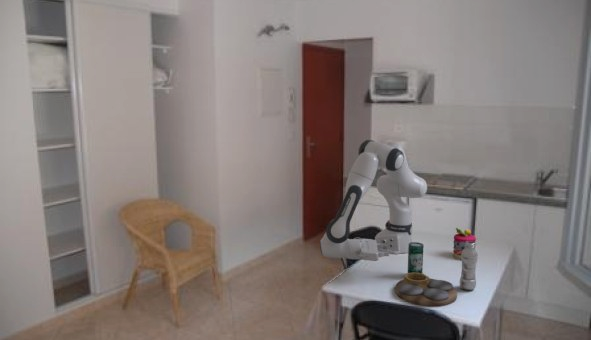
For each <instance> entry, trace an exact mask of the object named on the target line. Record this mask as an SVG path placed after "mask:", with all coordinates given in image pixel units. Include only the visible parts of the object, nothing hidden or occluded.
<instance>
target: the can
mask: <svg viewBox="0 0 591 340" xmlns="http://www.w3.org/2000/svg"><path fill="white" fill-rule="evenodd" d="M423 268H424V244H423V243H421V242H417V241H414V242H413V241H412V242H411V243H409V247H408V253H407V273H413V272H416V273H422V274H423V270H424V269H423Z"/></svg>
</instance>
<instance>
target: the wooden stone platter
mask: <svg viewBox="0 0 591 340" xmlns="http://www.w3.org/2000/svg"><path fill="white" fill-rule="evenodd" d="M395 294H396V295H397V297H399V298H400V299H401V300H403V301H405V302H407V303H409V304H412V305H416V306H417V305H418V306H423V307H443V306H448V305H449V306H450V305H452V304H453V303H455V302H456V301H457V298H458V297H457V296H458V290H457V289H456V288H455V287H454V286H453V284H452V283H451V282H450V281H447V280H442V279H435V278H430V277H429V276H428V275H426V274H424V273H423V272H422V273H416V272H413V273H408V272H407V273H406V274H405V275H404V277H403V279H401V280H399V281H398V282H396V284H395Z"/></svg>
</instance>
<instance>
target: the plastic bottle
mask: <svg viewBox="0 0 591 340" xmlns="http://www.w3.org/2000/svg"><path fill="white" fill-rule="evenodd" d="M475 244H476V242H475V243H474V242H472V241H466V242H465V247H466V248H465V249H464V250H463V251H462V253H461V258H462V260H461V273H460V278H459V286H460V288H461V289H463V290H466V291H473V290H474V289H476V287H477V279H476V268H477V261H478V257H479V256H478V252H477V251H476V245H475ZM474 248H475V249H474Z"/></svg>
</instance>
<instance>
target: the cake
mask: <svg viewBox="0 0 591 340" xmlns="http://www.w3.org/2000/svg"><path fill="white" fill-rule="evenodd" d="M455 230H456V234H454V235H453V250H452V252H453V257H452V258H453V259H456V260H459V261H462V258H461V253H462V251H463V250H464V249H465V248H466V247H465V242H466V241H472V242H474V243H475V246H476V244H477V243H476V240H477V238H476V236H475V235H473V234H472V231H471V229H467V228H466V229H465V230H464V231H462V229H460V228H459V227H455ZM474 249H475V250H476V247H475V248H474Z"/></svg>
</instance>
